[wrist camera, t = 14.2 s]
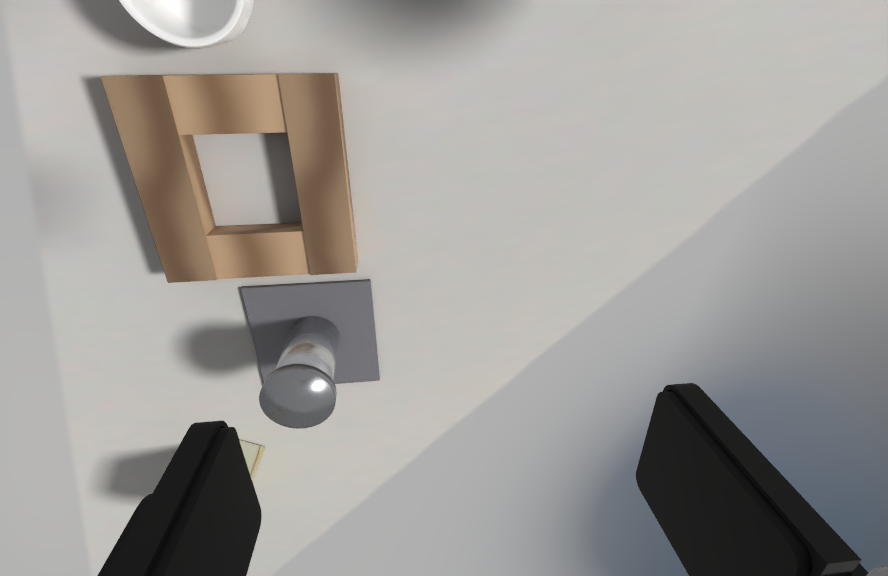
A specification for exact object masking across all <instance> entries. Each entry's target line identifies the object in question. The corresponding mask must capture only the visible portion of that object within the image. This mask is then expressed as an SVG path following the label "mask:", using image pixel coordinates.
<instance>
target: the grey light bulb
mask: <svg viewBox="0 0 888 576" xmlns="http://www.w3.org/2000/svg"><path fill="white" fill-rule="evenodd" d="M339 343H340V333H339V330H338V329H337V327H336V326H335V325H334V324H333V323H332V322H331V321H329V320H328V319H326V318H323V317H319V316H308V317H304V318H301V319H299V320H298V321H296V322H295V323H294V324H293V326H292V327H291V329H290V332H289V335H288V337H287V340H286V343H285V345H284V348H283V351H282V353H281V356H280V359H279V362H278V364H277V367H276V369H275V370H274V371H273V372H271V373H270V374H269V375H268V376H267V378H266V379H265V381H264V384H263V386H262V389H261V391H260V396H259V401H260V406H261V408H262V410H263V412H264V413H265V414H266V415H267V416H268V417H269V418H270V419H271V420H272V421H274V422H276V423H278V424H280V425H282V426H285V427H289V428H308V427H313V426H315V425H318V424H320V423H322V422H323V421H325V420H326V419H327V418H328V417H329V416H330V415H331V413H332V412H333V410H334V407H335V402H336V394H337V392H336V386H335V384H334V382H333V378H334V372H335V366H336V361H337V355H338V349H339Z"/></svg>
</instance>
